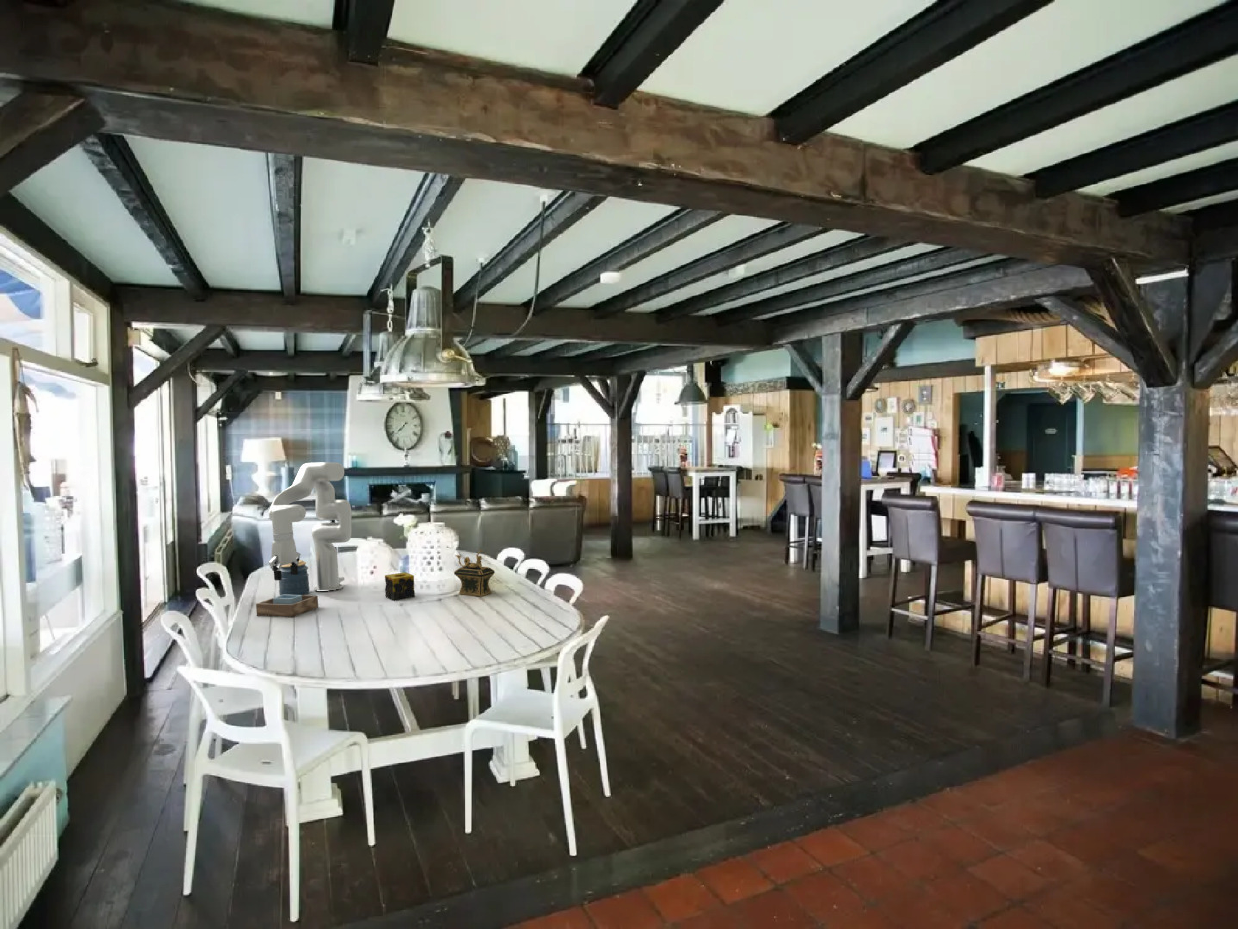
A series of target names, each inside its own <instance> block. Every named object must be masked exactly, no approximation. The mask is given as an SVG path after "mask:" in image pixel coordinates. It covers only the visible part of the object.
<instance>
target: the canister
mask: <svg viewBox="0 0 1238 929" xmlns="http://www.w3.org/2000/svg"><path fill="white" fill-rule="evenodd" d="M298 563H299V564H298V575H291V568H290V565H291V563H289V564H286V565H282V566H281V569H280V571H281V575H282V580H278V589H279V590H278V593H279V596H281V595H307V594H309V593H310V581H309V580H310V579H309V573H308V570H309V566H307V565H306V564H307V562H306V561H304V560H302V559H300V560H299V562H298Z"/></svg>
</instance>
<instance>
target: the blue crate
mask: <svg viewBox="0 0 1238 929" xmlns="http://www.w3.org/2000/svg"><path fill="white" fill-rule="evenodd" d="M272 598H273V604H289V605H292V604H295V603H297V602H300V601H302V595H281V596H280V595H277V596H275V597H272Z"/></svg>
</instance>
